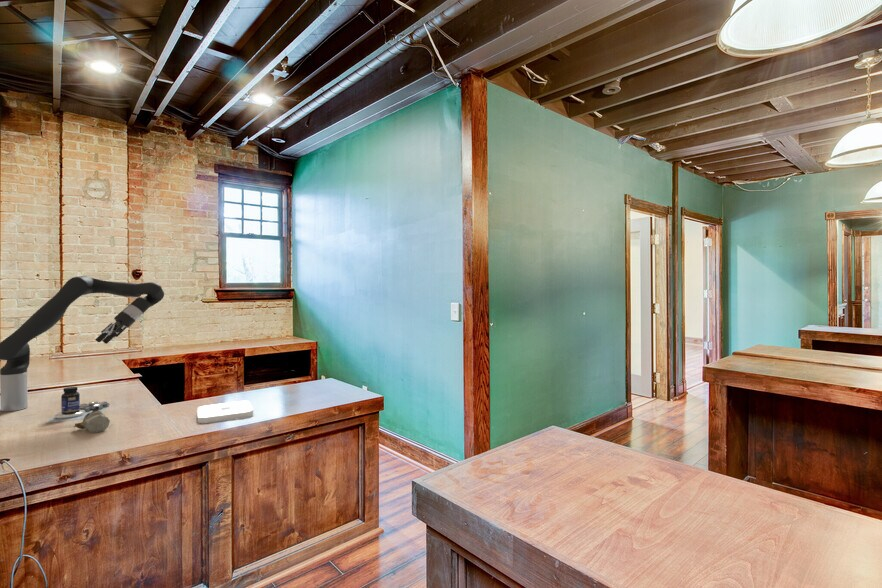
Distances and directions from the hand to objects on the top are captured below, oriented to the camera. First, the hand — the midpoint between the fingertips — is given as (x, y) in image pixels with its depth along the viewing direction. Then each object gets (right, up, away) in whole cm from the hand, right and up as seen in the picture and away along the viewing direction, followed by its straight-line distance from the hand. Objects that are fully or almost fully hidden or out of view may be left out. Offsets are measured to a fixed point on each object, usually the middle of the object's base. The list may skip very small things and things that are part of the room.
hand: (100, 341), depth 200 cm
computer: (+60, -33, -4) cm, 69 cm away
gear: (-5, -31, +1) cm, 32 cm away
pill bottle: (-5, -30, -11) cm, 32 cm away
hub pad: (-5, -31, -11) cm, 33 cm away
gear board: (-4, -33, -7) cm, 34 cm away
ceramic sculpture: (+18, -33, -25) cm, 45 cm away
